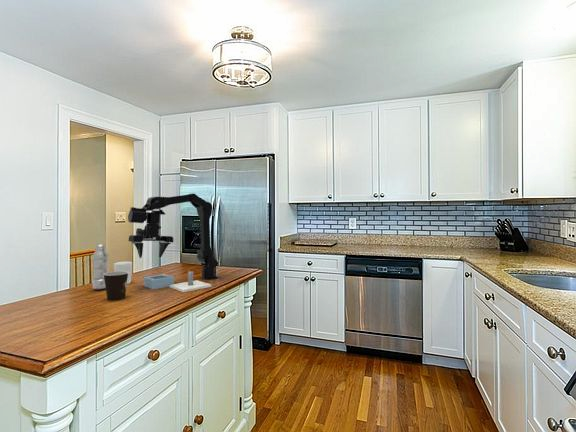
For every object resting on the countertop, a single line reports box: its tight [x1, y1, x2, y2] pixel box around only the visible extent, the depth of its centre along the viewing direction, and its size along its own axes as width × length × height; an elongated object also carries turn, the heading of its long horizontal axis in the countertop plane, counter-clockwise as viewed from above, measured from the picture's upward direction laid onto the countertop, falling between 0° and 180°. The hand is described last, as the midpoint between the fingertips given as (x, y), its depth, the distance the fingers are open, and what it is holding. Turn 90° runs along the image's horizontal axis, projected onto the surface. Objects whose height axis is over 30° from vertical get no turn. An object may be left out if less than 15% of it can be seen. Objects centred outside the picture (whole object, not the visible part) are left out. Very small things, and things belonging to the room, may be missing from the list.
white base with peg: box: [169, 270, 212, 293], centre depth 145 cm, size 14×13×7 cm
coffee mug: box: [104, 271, 128, 301], centre depth 128 cm, size 12×9×10 cm
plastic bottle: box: [91, 243, 110, 291], centre depth 141 cm, size 6×7×20 cm
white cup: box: [113, 261, 133, 285], centre depth 152 cm, size 8×8×10 cm
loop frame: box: [143, 273, 175, 290], centre depth 148 cm, size 10×10×4 cm
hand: (150, 257), depth 145 cm, fingers open, 9 cm apart
